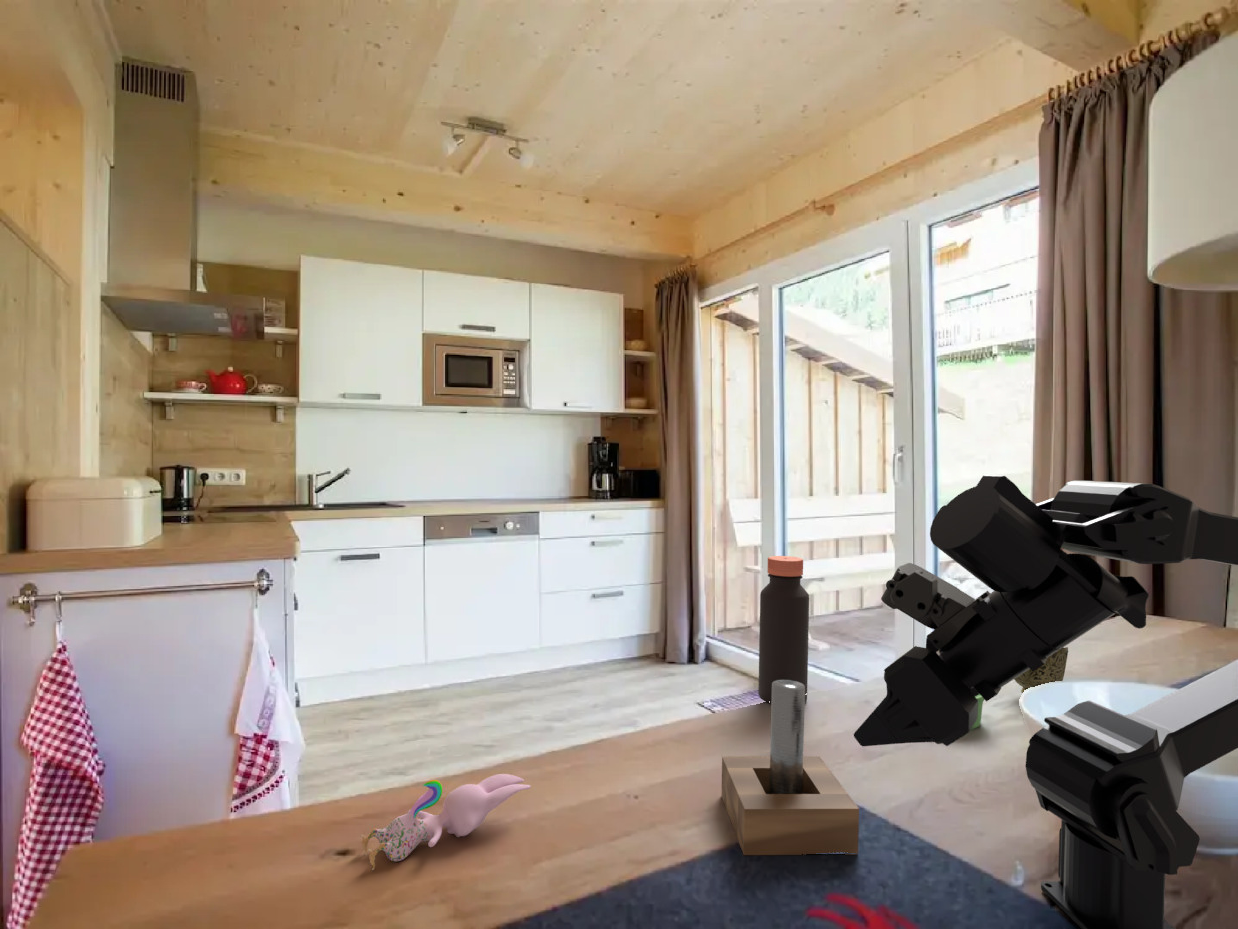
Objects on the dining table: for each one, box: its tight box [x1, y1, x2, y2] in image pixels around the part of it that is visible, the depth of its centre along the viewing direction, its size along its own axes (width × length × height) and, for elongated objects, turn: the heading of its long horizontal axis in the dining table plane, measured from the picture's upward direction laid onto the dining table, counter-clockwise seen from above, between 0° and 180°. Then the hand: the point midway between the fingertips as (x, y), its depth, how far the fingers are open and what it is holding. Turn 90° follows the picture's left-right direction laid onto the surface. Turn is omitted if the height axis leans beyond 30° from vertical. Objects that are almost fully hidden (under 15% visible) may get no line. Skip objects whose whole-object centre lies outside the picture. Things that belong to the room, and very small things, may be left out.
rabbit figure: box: [360, 773, 531, 871], centre depth 60 cm, size 6×6×15 cm
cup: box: [1013, 646, 1069, 694], centre depth 96 cm, size 8×7×8 cm
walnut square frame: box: [720, 755, 860, 856], centre depth 63 cm, size 10×10×4 cm
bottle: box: [757, 555, 810, 705], centre depth 95 cm, size 7×7×20 cm
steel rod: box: [769, 680, 806, 794], centre depth 63 cm, size 3×3×13 cm
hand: (875, 723), depth 58 cm, fingers open, 9 cm apart
